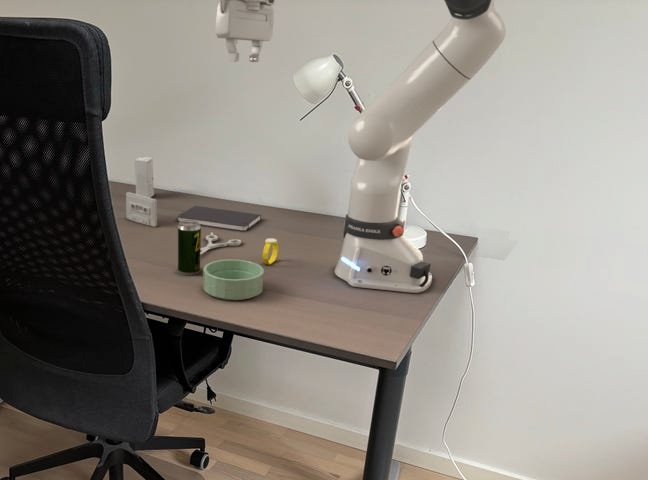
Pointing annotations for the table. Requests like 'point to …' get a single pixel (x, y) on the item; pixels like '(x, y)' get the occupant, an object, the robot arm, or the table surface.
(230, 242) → the scissors
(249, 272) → the bowl
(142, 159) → the cosmetic box
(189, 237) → the beer can
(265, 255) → the watch
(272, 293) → the table surface
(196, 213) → the notebook
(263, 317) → the table surface
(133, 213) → the cassette
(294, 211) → the table surface
